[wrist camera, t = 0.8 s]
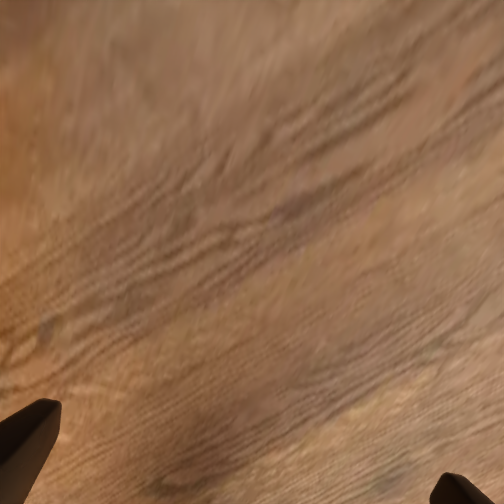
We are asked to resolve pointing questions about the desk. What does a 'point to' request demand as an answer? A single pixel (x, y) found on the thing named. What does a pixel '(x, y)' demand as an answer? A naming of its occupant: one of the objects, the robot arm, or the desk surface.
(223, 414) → the desk surface
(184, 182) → the desk surface
